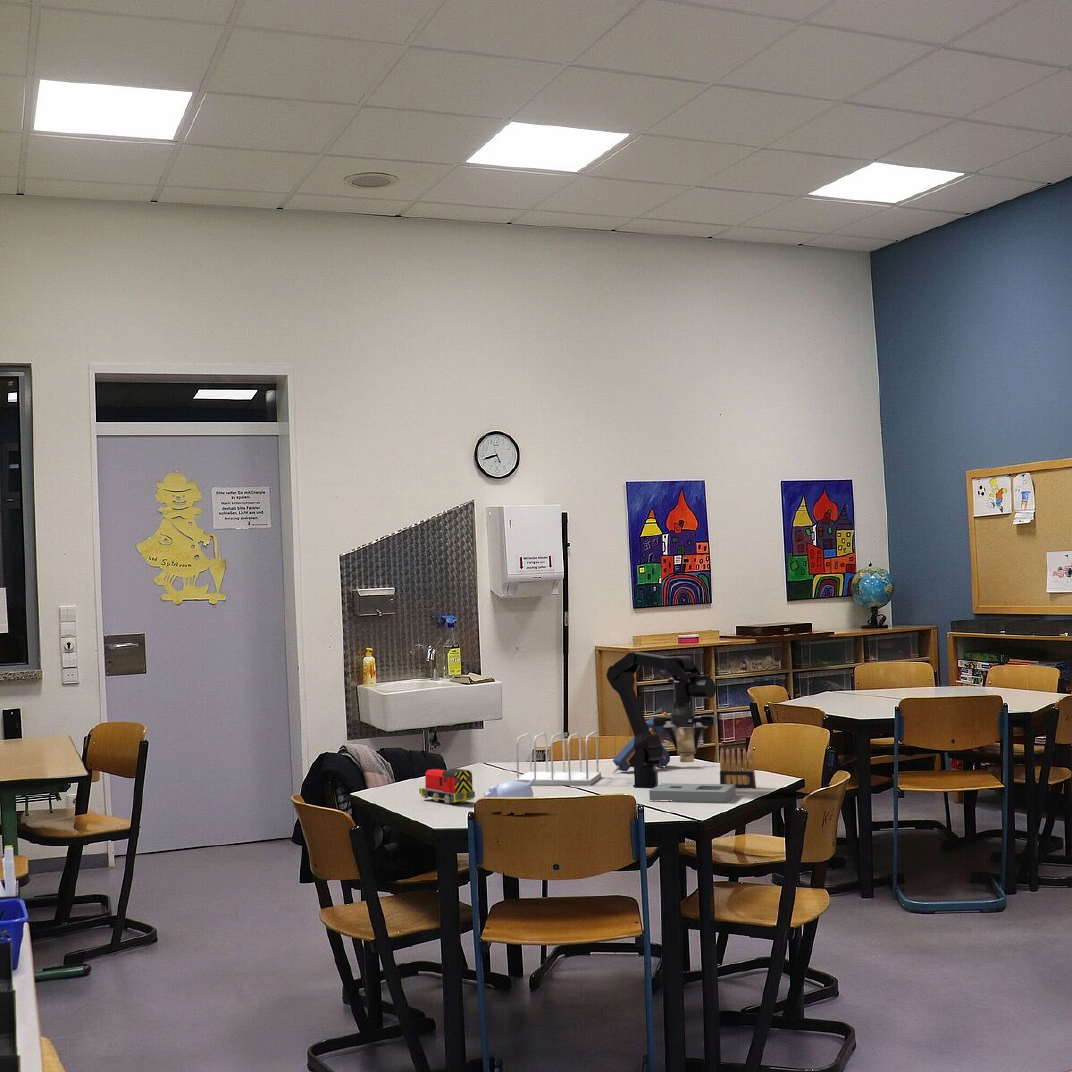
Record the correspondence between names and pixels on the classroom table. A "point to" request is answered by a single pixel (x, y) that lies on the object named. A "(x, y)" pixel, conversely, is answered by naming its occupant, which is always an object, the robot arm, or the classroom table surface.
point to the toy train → (448, 785)
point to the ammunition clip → (737, 769)
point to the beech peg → (686, 743)
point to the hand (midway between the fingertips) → (686, 749)
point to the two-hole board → (693, 792)
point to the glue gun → (628, 750)
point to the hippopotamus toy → (511, 789)
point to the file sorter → (563, 777)
